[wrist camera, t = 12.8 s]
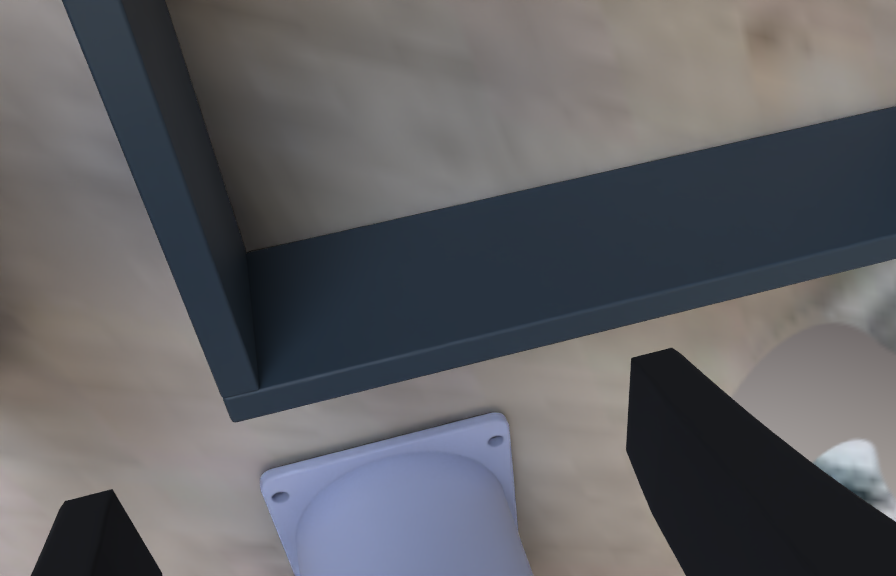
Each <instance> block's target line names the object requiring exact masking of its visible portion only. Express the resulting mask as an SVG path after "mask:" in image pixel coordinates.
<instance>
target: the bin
mask: <svg viewBox="0 0 896 576" xmlns="http://www.w3.org/2000/svg"><path fill="white" fill-rule="evenodd" d="M62 2H63V4H64V7H65V9H66V12H67V14H68V17H69V19H70V21H71V24H72V26H73V29H74V31H75V34H76V36H77V39H78V41H79V44H80V46H81V49H82V51H83V54H84V56H85V59H86V61H87V64H88V66H89V69H90V71H91V74H92V76H93V79H94V81H95V84H96V86H97V89H98V91H99V94H100V96H101V99H102V101H103V103H104V106H105V108H106V111H107V113H108V116H109V118H110V121H111V123H112V126H113V128H114V131H115V133H116V136H117V138H118V141H119V143H120V146H121V148H122V151H123V153H124V156H125V158H126V161H127V163H128V166H129V168H130V171H131V173H132V176H133V178H134V181H135V183H136V186H137V188H138V190H139V193H140V195H141V198H142V200H143V203H144V205H145V208H146V210H147V213H148V215H149V218H150V220H151V223H152V225H153V228H154V230H155V233H156V235H157V238H158V240H159V243H160V245H161V248H162V250H163V253H164V255H165V258H166V260H167V263H168V265H169V268H170V270H171V272H172V275H173V277H174V280H175V282H176V285H177V287H178V290H179V292H180V295H181V297H182V300H183V302H184V305H185V307H186V310H187V312H188V315H189V317H190V320H191V322H192V325H193V327H194V330H195V332H196V335H197V337H198V340H199V342H200V345H201V347H202V350H203V352H204V354H205V357H206V359H207V362H208V364H209V367H210V369H211V372H212V374H213V377H214V379H215V382H216V384H217V387H218V389H219V392H220V394H221V396H222V397H223V401H224V403H225V406H226V408H227V411H228V413H229V416H230V418H231V420H232V421H233V422H240V421H244V420H248V419H252V418H256V417H260V416H264V415H268V414H272V413H276V412H280V411H284V410H288V409H292V408H296V407H300V406H304V405H308V404H312V403H316V402H320V401H324V400H328V399H332V398H337V397H341V396H345V395H349V394H353V393H357V392H361V391H365V390H369V389H373V388H377V387H381V386H385V385H389V384H393V383H397V382H401V381H405V380H409V379H413V378H417V377H421V376H425V375H429V374H433V373H437V372H441V371H445V370H449V369H453V368H457V367H461V366H465V365H470V364H474V363H478V362H482V361H486V360H490V359H494V358H498V357H502V356H506V355H510V354H514V353H518V352H522V351H526V350H530V349H534V348H538V347H542V346H546V345H550V344H554V343H558V342H562V341H566V340H570V339H574V338H578V337H582V336H586V335H590V334H594V333H598V332H602V331H607V330H611V329H615V328H619V327H623V326H627V325H631V324H635V323H639V322H643V321H647V320H651V319H655V318H659V317H663V316H667V315H671V314H675V313H679V312H683V311H687V310H691V309H695V308H699V307H703V306H707V305H711V304H715V303H719V302H723V301H727V300H731V299H735V298H740V297H744V296H748V295H752V294H756V293H760V292H764V291H768V290H772V289H776V288H780V287H784V286H788V285H792V284H796V283H800V282H804V281H808V280H812V279H816V278H820V277H824V276H828V275H832V274H836V273H840V272H844V271H848V270H852V269H856V268H860V267H864V266H868V265H873V264H877V263H881V262H885V261H889V260H893V259H896V106H895V107H891V108H887V109H882V110H878V111H873V112H869V113H864V114H860V115H856V116H851V117H847V118H842V119H838V120H833V121H829V122H824V123H820V124H816V125H811V126H807V127H802V128H798V129H793V130H789V131H785V132H780V133H776V134H771V135H767V136H762V137H758V138H754V139H749V140H745V141H740V142H736V143H731V144H727V145H722V146H718V147H714V148H709V149H705V150H700V151H696V152H691V153H687V154H683V155H678V156H674V157H669V158H665V159H660V160H656V161H652V162H647V163H643V164H638V165H634V166H629V167H625V168H620V169H616V170H612V171H607V172H603V173H598V174H594V175H589V176H585V177H581V178H576V179H572V180H567V181H563V182H558V183H554V184H550V185H545V186H541V187H536V188H532V189H527V190H523V191H518V192H514V193H510V194H505V195H501V196H496V197H492V198H487V199H483V200H479V201H474V202H470V203H465V204H461V205H456V206H452V207H448V208H443V209H439V210H434V211H430V212H425V213H421V214H416V215H412V216H408V217H403V218H399V219H394V220H390V221H385V222H381V223H377V224H372V225H368V226H363V227H359V228H354V229H350V230H346V231H341V232H337V233H332V234H328V235H323V236H319V237H314V238H310V239H306V240H301V241H297V242H292V243H288V244H283V245H279V246H275V247H270V248H266V249H261V250H257V251H252V252H248V253H246V250H245V247H244V244H243V240H242V237H241V234H240V231H239V228H238V225H237V222H236V219H235V216H234V213H233V209H232V206H231V203H230V200H229V197H228V194H227V191H226V188H225V185H224V182H223V179H222V175H221V172H220V169H219V166H218V163H217V160H216V157H215V154H214V151H213V148H212V144H211V141H210V138H209V135H208V132H207V129H206V126H205V123H204V120H203V117H202V113H201V110H200V107H199V104H198V101H197V98H196V95H195V92H194V89H193V86H192V83H191V79H190V76H189V73H188V70H187V67H186V64H185V61H184V58H183V55H182V52H181V48H180V45H179V42H178V39H177V36H176V33H175V30H174V27H173V24H172V21H171V17H170V14H169V11H168V8H167V5H166V2H165V0H62Z"/></svg>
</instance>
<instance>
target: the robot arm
mask: <svg viewBox="0 0 896 576" xmlns="http://www.w3.org/2000/svg"><path fill="white" fill-rule="evenodd" d="M494 436H495V437H494ZM492 437H493V438H492ZM626 451H627V454H628V456H629V459H630V461H631V464H632V466H633V469H634V471H635V474H636V476H637V479H638V481H639V484H640V486H641V489H642V491H643V493H644V496H645V498H646V500H647V503H648V505H649V507H650V510H651V512H652V514H653V516H654V518H655V520H656V522H657V524H658V526H659V527H660V529H661V531H662V533H663V535H664V537H665V538H666V540H667V542H668V544H669V546H670V547H671V549H672V551H673V553H674V555H675V557H676V558H677V560H678V562H679V564H680V566H681V567H682V569H683V571H684V573H685V575H686V576H896V522H895V521H894V520H892V519H891V518H889V517H888V516H886V515H885V514H883V513H882V512H880V511H879V510H877V509H876V508H874V507H873V506H871V505H870V504H868V503H867V502H865V501H864V500H863V499H861V498H860V497H858V496H857V495H856V494H854V493H853V492H851V491H850V490H849V489H847V488H846V487H844V486H843V485H842V484H840V483H839V482H837V481H836V480H835V479H833V478H832V477H830V476H829V475H828V474H826V473H825V472H824V471H822V470H821V469H820V468H818V467H817V466H816V465H814V464H813V463H812V462H810V461H809V460H808V459H806V458H805V457H804V456H803V455H801V454H800V453H799V452H797V451H796V450H795V449H793V448H792V447H791V446H790V445H788V444H787V443H786V442H785V441H783V440H782V439H781V438H779V437H778V436H777V435H775V434H774V433H773V432H772V431H771V430H769V429H768V428H767V427H766V426H764V425H763V424H762V423H761V422H760V421H758V420H757V419H756V418H755V417H753V416H752V415H751V414H750V413H748V412H747V411H746V410H745V409H744V408H743V407H741V406H740V405H739V404H738V403H737V402H735V401H734V400H733V399H732V398H731V397H730V396H728V395H727V394H726V393H725V392H724V391H723V390H721V389H720V388H719V387H718V386H717V385H716V384H715V383H713V382H712V381H711V380H710V379H709V378H708V377H706V376H705V375H704V374H703V373H702V372H701V371H700V370H699V369H697V368H696V367H695V366H694V365H693V364H692V363H691V362H689V361H688V360H687V359H686V358H685V357H684V356H683V355H681V354H680V353H679V352H678V351H676V350H675V349H673V348H669V349H665V350H661V351H657V352H653V353H649V354H645V355H641V356H637V357H633V358H631V371H630V389H629V407H628V424H627V442H626ZM260 488H261V492H262V495H263V497H264V500H265V502H266V505H267V507H268V510H269V512H270V515H271V517H272V520H273V522H274V525H275V527H276V530H277V532H278V535H279V537H280V540H281V542H282V545H283V547H284V550H285V552H286V555H287V557H288V560H289V562H290V565H291V567H292V570H293V572H294V575H295V576H534V575H533V573H532V570H531V567H530V564H529V562H528V559H527V556H526V553H525V550H524V548H523V545H522V542H521V539H520V537H519V534H518V523H517V511H516V499H515V488H514V476H513V464H512V453H511V441H510V429H509V424H508V422H507V419H506V417H505V415H503V414H502V413H498V412H493V413H488V414H484V415H480V416H476V417H472V418H468V419H464V420H460V421H456V422H453V423H449V424H445V425H441V426H437V427H433V428H429V429H425V430H421V431H417V432H413V433H410V434H406V435H402V436H398V437H394V438H390V439H386V440H382V441H378V442H374V443H370V444H366V445H363V446H359V447H355V448H351V449H347V450H343V451H339V452H335V453H331V454H327V455H323V456H320V457H316V458H312V459H308V460H304V461H300V462H296V463H292V464H288V465H284V466H280V467H277V468H273V469H270V470H268V471H266V472H265V473H263V474H262V476H261V477H260ZM278 492H280V493H278ZM31 576H162V572H161V570H160V569H159V567H158V565H157V564H156V562H155V560H154V559H153V557H152V555H151V554H150V552H149V550H148V549H147V547H146V545H145V543H144V542H143V540H142V538H141V537H140V535H139V533H138V532H137V530H136V528H135V527H134V525H133V523H132V521H131V520H130V518H129V516H128V515H127V513H126V511H125V510H124V508H123V506H122V505H121V503H120V501H119V499H118V498H117V496H116V494H115V493H114V491H113V489H111V490H107V491H103V492H100V493H96V494H92V495H88V496H84V497H80V498H76V499H72V500H68V501H65V502H64V504H63V505H62V506H61V508H60V509H59V512H58V514H57V516H56V519H55V521H54V524H53V526H52V528H51V531H50V533H49V535H48V538H47V540H46V542H45V545H44V547H43V549H42V552H41V554H40V556H39V558H38V561H37V563H36V565H35V568H34V570H33V572H32V574H31Z"/></svg>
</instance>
